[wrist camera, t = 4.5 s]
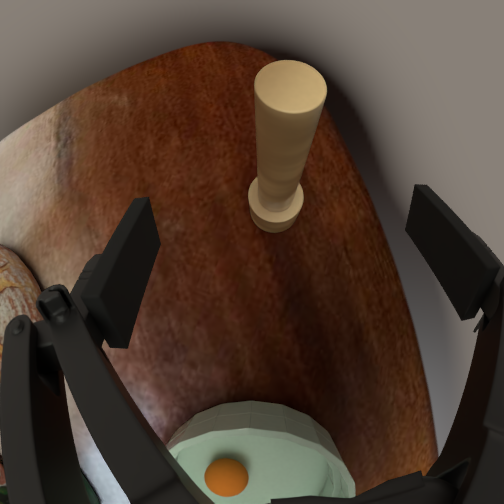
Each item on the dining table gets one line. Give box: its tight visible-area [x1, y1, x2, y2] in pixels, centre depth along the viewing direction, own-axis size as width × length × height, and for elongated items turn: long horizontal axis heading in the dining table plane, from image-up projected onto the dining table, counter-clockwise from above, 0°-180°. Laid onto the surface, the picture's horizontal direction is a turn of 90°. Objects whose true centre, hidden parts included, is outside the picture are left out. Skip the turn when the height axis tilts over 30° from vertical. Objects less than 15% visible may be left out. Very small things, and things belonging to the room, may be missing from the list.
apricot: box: [204, 458, 249, 497], centre depth 22 cm, size 4×4×4 cm
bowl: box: [166, 401, 355, 504], centre depth 21 cm, size 17×17×7 cm
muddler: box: [248, 60, 327, 233], centre depth 19 cm, size 4×4×18 cm
